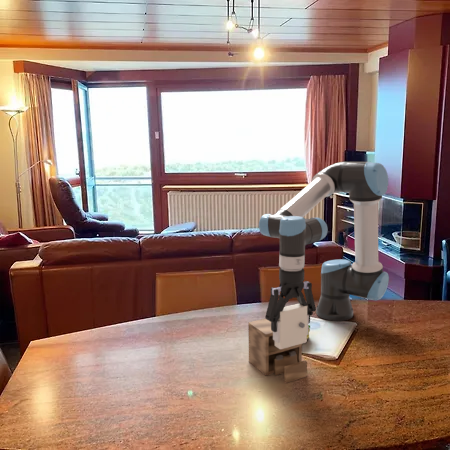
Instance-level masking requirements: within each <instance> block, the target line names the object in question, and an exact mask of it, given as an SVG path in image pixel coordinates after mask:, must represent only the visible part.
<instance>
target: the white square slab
mask: <svg viewBox="0 0 450 450" xmlns="http://www.w3.org/2000/svg"><path fill="white" fill-rule="evenodd" d="M278 321H279V322H280V342H279V343H277V342H276V341H275V346H276V347H277V348H279V349H284V348H288V347H291V346H295V345H299V344H302V345H303V344H306V343H307V340H308V339H307V306H303V305H301V304H300V303H299V302H298V303H295V304H291V305H285V307H284V309H283V311H281V312H280V318H279V320H278Z"/></svg>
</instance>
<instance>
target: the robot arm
mask: <svg viewBox="0 0 450 450" xmlns="http://www.w3.org/2000/svg"><path fill="white" fill-rule="evenodd" d="M388 186H389V175H388V172H387V169H386V167H384V165H383V164H382V163H381V162H372V161H339V162H336V163H333V164H331V165H328V166H326V167H324V168H323V169H321V170H320V171H319V172H317V173H316V174H314V175H313V177H312V178H311V182H310V183H308V184H307V185H306V186H305V187H304V188H302V189H301V190H300V191H299V192H298V193H297V194H296V195H294V196H293V197H292V198H291V199H290V200H289V201H287V202H286V203H285V204H284V205H283V206H281V207H280V208H279V209H278V210H277V211H276V212H274V214H272V213H264V214H263V215H261V217H260V218H259V221H258V229H259V232H260V234H261V235H263V236H266V237H270V238H275V239H276V238H277V239H279V255H278V256H279V258H278V259H279V260H278V261H279V263H278V267H280V268H278V269H279V270H278V271H279V272H278V273H279V274H278V279H279V286H278V287H270V297H269V300H268V305H267V308H266V314H265V318H266V319H267V320H269V321H270V322H271V330H272V331H273V340H274V341H276V342H277V343H279V342H280V322H279V321H278V320H279V318H280V312H281V311H283V309H284V307H286V306H287V303H288V302H289V300H292V299H297V302H298V304H299V303H300V304H301V305H303V306H307V335H308V325H310V324H311V316H312V315H314V313H313V312H316V315H317V316H318V317H319V318H321V319H323V320H327V321H332V322H333V321H334V322H344V321H348V320H350V319H352V318H354V317H353V316H354V308H353V305H352V302H351V298H350V296H354V297H359V298H362V299H366V300H367V301H369V300H372V301H379V300H381V299H382V298H383V297H384V295H385V293H386V292H387V289H388V286H389V280H390V277H389V276H390V275H389V274H388V272H386V271H383V270H384V269H383V268H384V267H383V264H382V263H381V262H380V261H379V202H380V201H381V200H382V198H383V196H384V195H385V194H387V191H388V189H389V188H388ZM334 193H346V194H348V196H349V199H348V200H350V202H351V203H352V204H353V225H354V227H353V228H354V257H355V259H354V260H355V261H354V262H353V263H352V262H351V261H350V260H349V259H341V258H339V259H330V260H327V261H324V262H323V263H322V265H321V270H320V271H321V272H320V277H321V278H320V297H319V301H318V304H317V305H316V304H315V303H316V302H315V300H314V299H315V298H314V294H313V291H312V289H313V287H312V286H313V284H312V282H310V281H307V280H305V259H306V258H305V257H306V251H305V250H306V246H308V245H311V244H314V243H318V242H320V241H321V240H323V239H325V238H326V236H327V234H328V224H327V223H326V222H325V220H324V219H322V218H320V217H311V218H310V217H309V218H305V216H306V215H307V214H309V213H310V212H311V211H312V210H313V209H314V208H315V207H316V206H317V205H318V204H320V202H321V201H323V200H324V199H325V198H326V197H327V198H328V197H330V196H332V195H333V194H334ZM302 291H304V294H303V292H302ZM265 318H264V319H265Z"/></svg>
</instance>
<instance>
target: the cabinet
mask: <svg viewBox="0 0 450 450" xmlns="http://www.w3.org/2000/svg"><path fill="white" fill-rule="evenodd" d="M302 346H303V343H302V344H299V345H295V346H291V347H288V348H284V349H279V348H277V347H276V346H275V341H274V340H273V331H272V330H271V322H270V321H269V320H267V319H266V318H261V319H257V320H253V321H249V322H248V362H249V363H250V364H251V365H252V366H254V368H256V369H257V370H258V371H260V372H261V373H262V374H263V375H264V376H265V377H266V376H269V375H272V374H274V375H275V376H279V375H282V374H283V381H284V383H285V384H288V383H290V382H294V381H297V380H300V379H303V378H306V377H308V361H307V360H303V354H302V353H303V349H302V348H303V347H302Z"/></svg>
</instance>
